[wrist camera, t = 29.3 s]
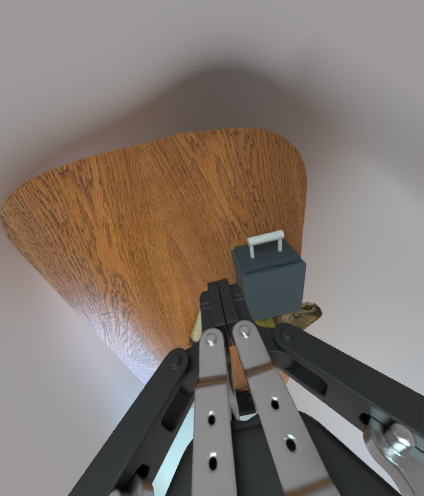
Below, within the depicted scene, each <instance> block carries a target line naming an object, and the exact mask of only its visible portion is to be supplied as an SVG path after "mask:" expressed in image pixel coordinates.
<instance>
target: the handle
mask: <svg viewBox="0 0 424 496" xmlns="http://www.w3.org/2000/svg"><path fill="white" fill-rule="evenodd" d="M235 394H236V400H237V405H238V410H239V416H243V415H249V414H253V413H256V410H255V406H254V403H253V400H252V396H251V393H243V392H237V391H235Z"/></svg>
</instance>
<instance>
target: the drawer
mask: <svg viewBox="0 0 424 496" xmlns="http://www.w3.org/2000/svg"><path fill="white" fill-rule="evenodd" d="M283 238H284V232H283V231H282V230H279V231H275V232H271V233H267V234H262V235H258V236H254V237H250V238H247V243H248V245H243V246H239V247H235V248H234V250H235V253H236V256H237V258H238V260H239V263H240V265H241V267H242V269H243V272H244V274H250V273H253V272H256V271H261V270H265V269H269V268H273V267H280V266H284V265H288V264H291V263H294V262H299V261H300V257H301V256H300V255H299V254H298V253H297V252H296V251H295V250H294V249H293V248H292V247H291V246H290V245H289V244H288V243H287V242H286V241H285V240H284V239H283Z"/></svg>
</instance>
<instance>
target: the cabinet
mask: <svg viewBox="0 0 424 496" xmlns="http://www.w3.org/2000/svg"><path fill="white" fill-rule="evenodd" d="M232 257H233V263H234V269H235V274H236V280H237V285H238V286H239V287H240V288H241V291H242V293H243V296H244V299H245V301H246V304H247V307H248V310H249V312H250V315H251V318H252V320H253V321H254V322H255V321H259V320H264V319H268V318H272V317H276V316H281V315H285V314H289V313H293V312H298V311H301V308H302V299H303V289H304V280H305V271H306V263H305V262H304V261H303V260H302V259H301V258H300V261H299V262H294V263H291V264H288V265H284V266H280V267H276V268H271V269H267V270H263V271H259V272H254V273H250V274H244V272H243V269H242V267H241V265H240V263H239V260H238V258H237V256H236V253H235V250H232Z"/></svg>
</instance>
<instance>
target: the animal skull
mask: <svg viewBox="0 0 424 496" xmlns="http://www.w3.org/2000/svg"><path fill="white" fill-rule="evenodd" d="M321 315H322V312H321V309H320V308H319V307H318V306H317V305H316V304H315V303H314V304H312V303H310V302H306V303H303V304H302V308H301V311H298V312H293V313H289V314H285V315H281V316H276V317H272V318H273V320H274V322H275V324H276V325H277V324H279V323H289V324H292V325H294V326H296V327H298V328H299V329H301V330H304V329H305V328H306V327H308V326H309V325H310V324H312V323H314V322H315V321H316V320H317V319H319V318H320V317H321Z"/></svg>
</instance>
